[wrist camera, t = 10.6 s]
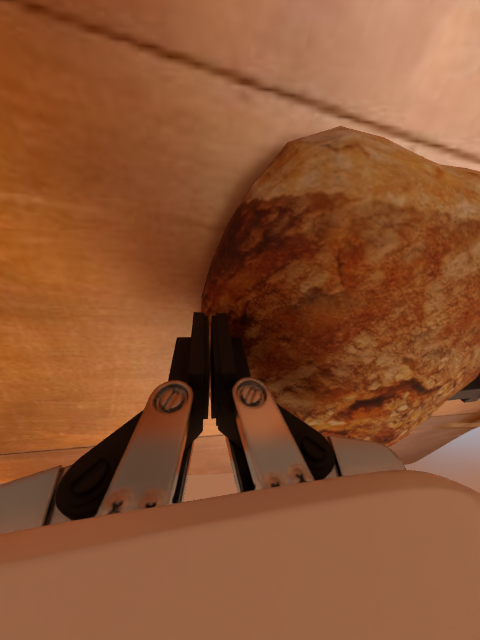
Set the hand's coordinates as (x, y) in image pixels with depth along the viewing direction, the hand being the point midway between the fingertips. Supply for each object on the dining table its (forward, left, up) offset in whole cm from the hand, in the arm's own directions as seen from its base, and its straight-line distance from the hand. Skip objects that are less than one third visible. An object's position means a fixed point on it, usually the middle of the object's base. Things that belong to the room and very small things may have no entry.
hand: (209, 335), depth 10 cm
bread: (0, +10, -5) cm, 11 cm away
